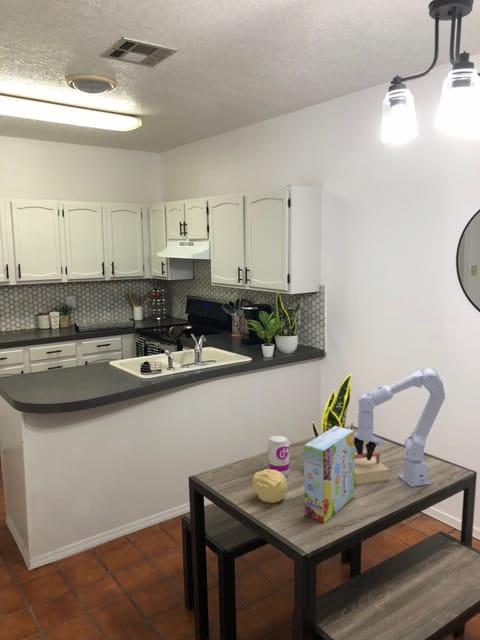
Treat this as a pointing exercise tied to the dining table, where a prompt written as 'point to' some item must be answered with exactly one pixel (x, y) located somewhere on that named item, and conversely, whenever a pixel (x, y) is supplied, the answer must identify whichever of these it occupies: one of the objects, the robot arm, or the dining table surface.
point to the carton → (370, 473)
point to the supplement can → (278, 454)
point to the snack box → (328, 473)
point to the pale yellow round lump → (270, 485)
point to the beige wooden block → (364, 460)
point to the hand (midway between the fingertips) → (364, 458)
